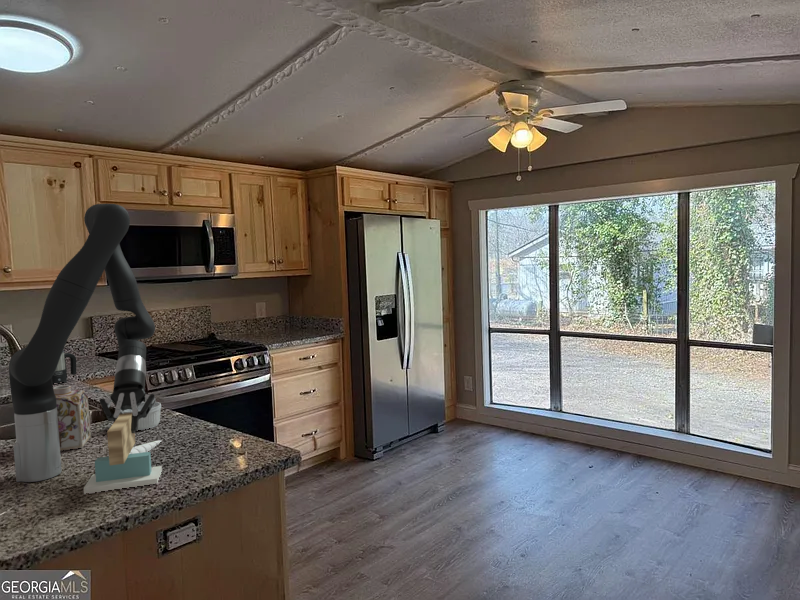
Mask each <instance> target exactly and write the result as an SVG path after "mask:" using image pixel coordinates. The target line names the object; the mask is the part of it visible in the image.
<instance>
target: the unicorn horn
mask: <svg viewBox="0 0 800 600" xmlns="http://www.w3.org/2000/svg"><path fill="white" fill-rule="evenodd" d="M160 442H163V440H161V439H159V440H155V441H150V442H147V443H143V444H140V445H136V446H135V445H134V446H133V448H132V450H131V452H130V453H129V454H134V453H143V452H148V451H149V452H151V451H152V450H154V449H155V446H156V447H157V446H158V445H160V444H161V443H160ZM159 443H160V444H159ZM151 449H152V450H151Z"/></svg>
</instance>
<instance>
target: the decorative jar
mask: <svg viewBox="0 0 800 600" xmlns="http://www.w3.org/2000/svg"><path fill="white" fill-rule="evenodd" d="M53 389H54V393H55V396H56V402H57V416H58V429H59V442H60V452H63V450H64V451H70V449H73V450H79V449H78V448H81V449H83V447H85V445H86V444H87V442H88V441H89V440H90V439H91V436H92V435H91V432H92V431H91V420H90V418H91V417H90V407H89V396H88V395H87V393H86V392H85V390H83V389H82V390H81V389H72V386H71V385H69V384H67V385H65V384H64V385H63V384H62V385H57V386H53Z"/></svg>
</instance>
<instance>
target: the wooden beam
mask: <svg viewBox="0 0 800 600" xmlns="http://www.w3.org/2000/svg"><path fill="white" fill-rule="evenodd" d="M132 417H133V413H123V414H120V415H119V417H118V418H117V419H116V421H115V422H114V421H113V422H114V423H112V424H111V425H110V427H109V428H108V430H107V432H106V434H107V437H106V438H107V447H108V456H109V463H110V465H118V464H124V463H125V461H126V459H127V457H128V455H129V453H130V452H131V450H132V448H133V447H135V444H136V434H135V433H136V432H135V433H132V432H131V422H132Z"/></svg>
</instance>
